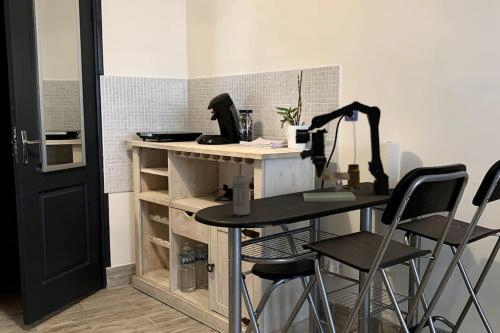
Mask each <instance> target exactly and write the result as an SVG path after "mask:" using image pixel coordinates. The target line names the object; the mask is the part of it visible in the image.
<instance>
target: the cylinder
mask: <svg viewBox="0 0 500 333" xmlns="http://www.w3.org/2000/svg"><path fill="white" fill-rule="evenodd" d="M334 181H335V184H334V185H335V186H334V187H335V193H337V192H343V181H342V180H334Z"/></svg>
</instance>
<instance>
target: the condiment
mask: <svg viewBox="0 0 500 333" xmlns="http://www.w3.org/2000/svg"><path fill="white" fill-rule="evenodd" d="M347 166H348V167H347V171H346V172H347V173H349V176H350V180H347V187H353V188H357V187H361V179H360V178H361V175H360V174H361V170H360V164H358V163H353V164H352V163H350V164H348V165H347Z"/></svg>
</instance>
